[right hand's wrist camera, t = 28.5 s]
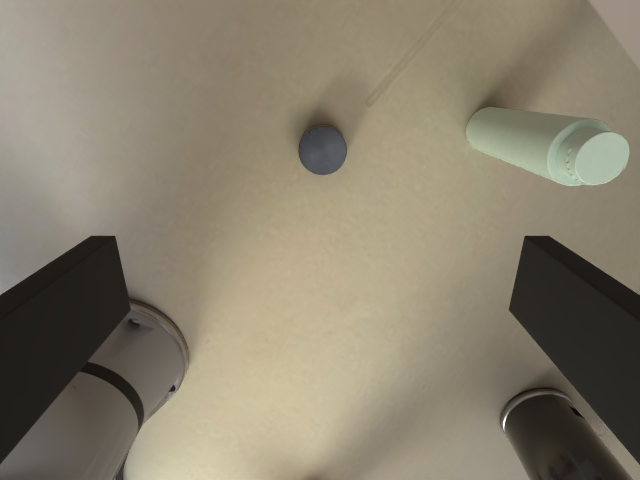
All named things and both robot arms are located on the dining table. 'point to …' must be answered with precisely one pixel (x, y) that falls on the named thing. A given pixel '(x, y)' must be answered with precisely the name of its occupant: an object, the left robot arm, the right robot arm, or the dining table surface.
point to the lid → (322, 149)
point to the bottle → (550, 144)
